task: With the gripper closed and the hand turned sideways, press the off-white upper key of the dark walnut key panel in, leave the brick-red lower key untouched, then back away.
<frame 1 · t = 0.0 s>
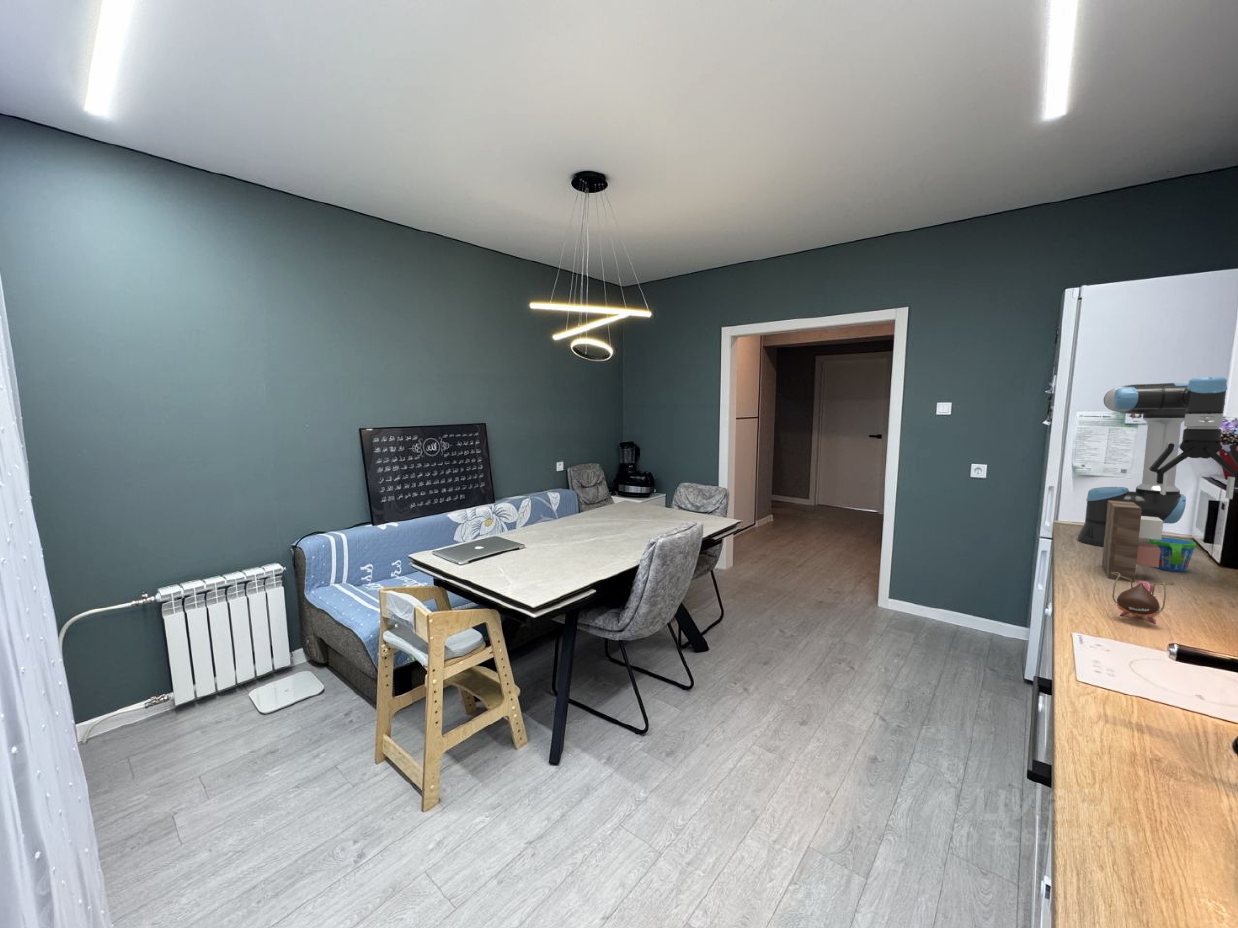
hand: (1194, 496, 151), 28 cm above the kitchen counter, tool pointing down, fingers open, 13 cm apart
key panel: (1117, 574, 163), on the kitchen counter
white key: (1148, 527, 158), point 17 cm above the kitchen counter, slide at 0.0 cm
snack cup: (1169, 569, 168), on the kitchen counter
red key: (1145, 554, 159), point 8 cm above the kitchen counter, slide at 0.0 cm
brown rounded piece: (1139, 616, 131), on the kitchen counter
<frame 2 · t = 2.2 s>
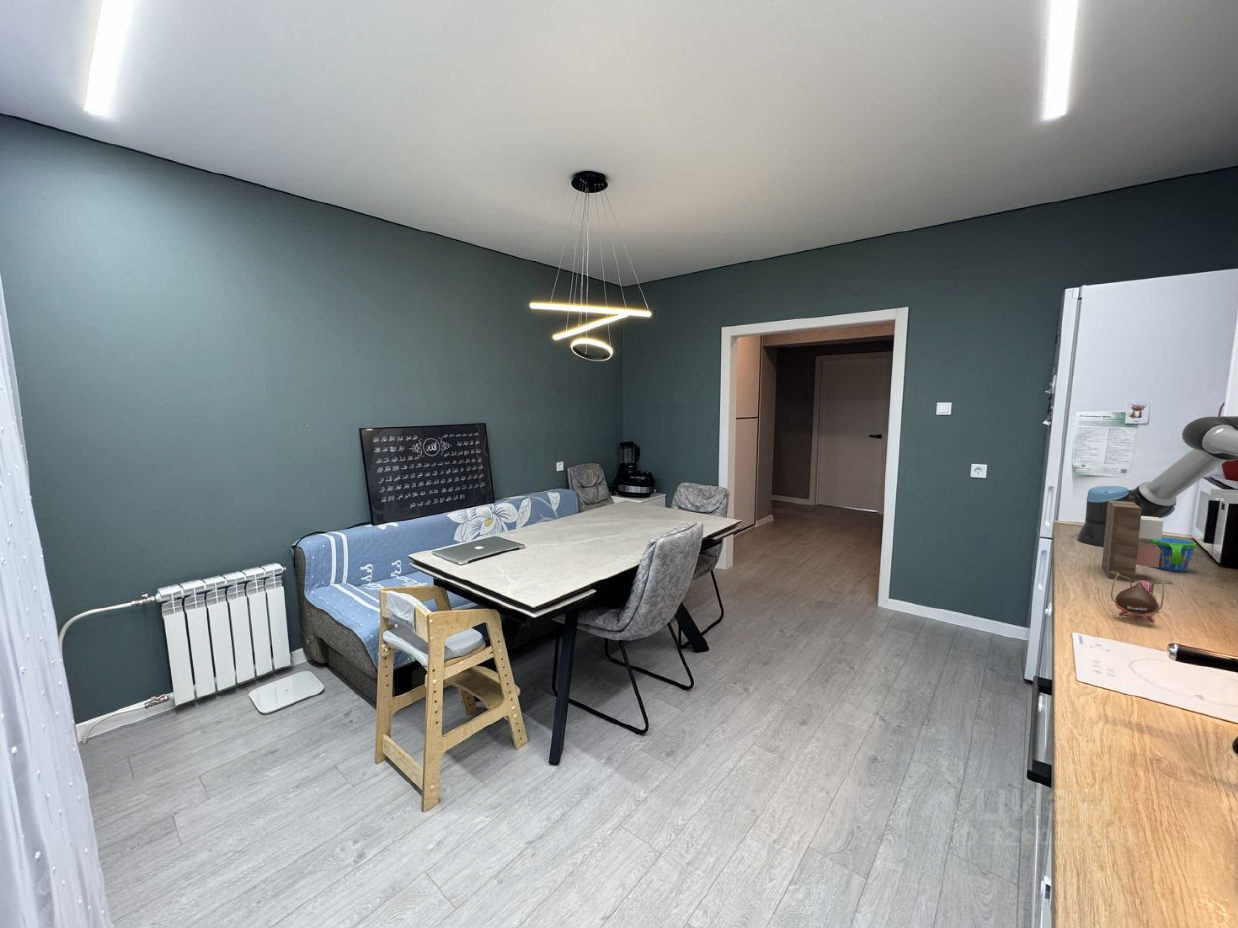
hand: (1216, 495, 148), 29 cm above the kitchen counter, tool horizontal, fingers open, 13 cm apart
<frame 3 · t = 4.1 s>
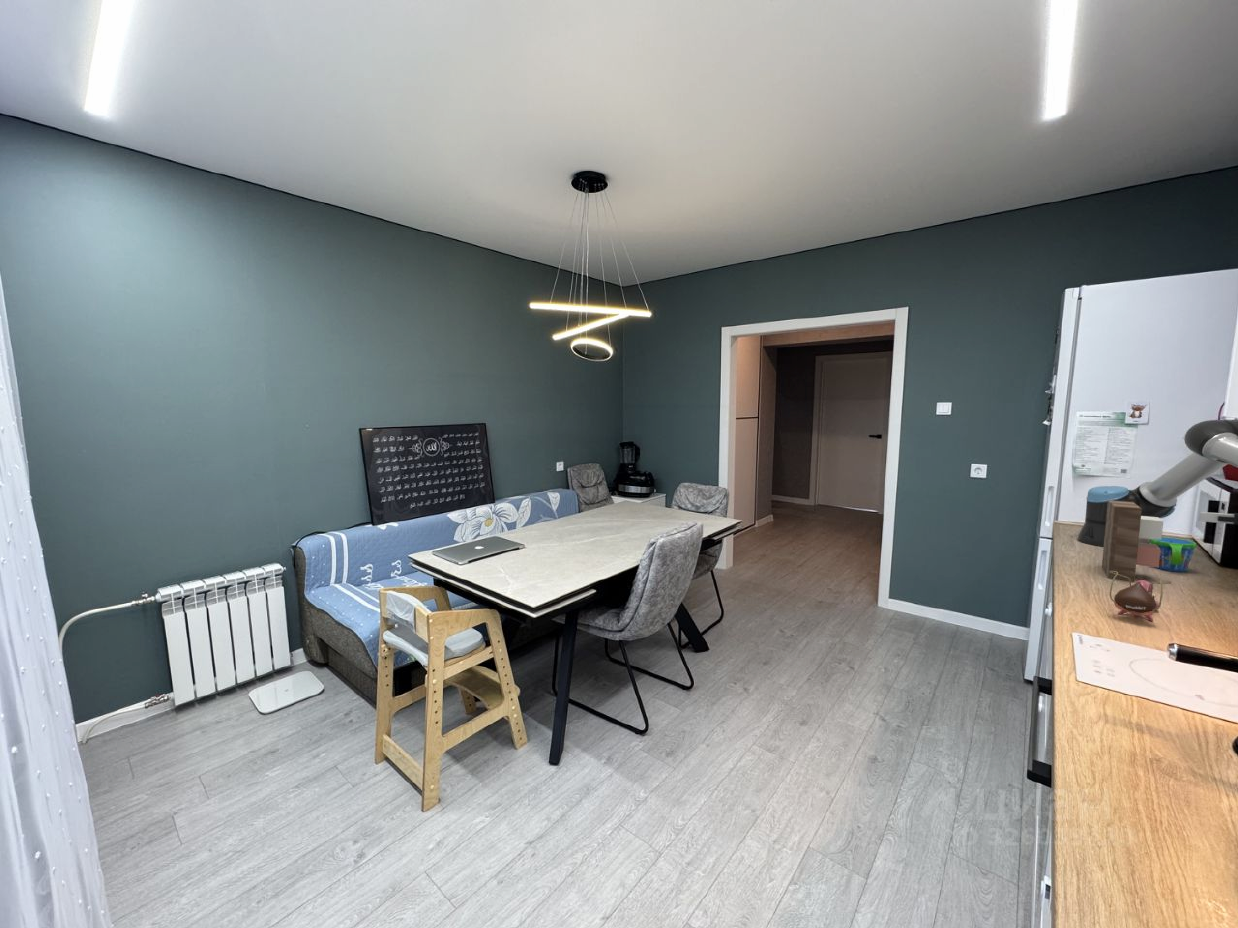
hand: (1200, 516, 150), 22 cm above the kitchen counter, tool horizontal, fingers closed
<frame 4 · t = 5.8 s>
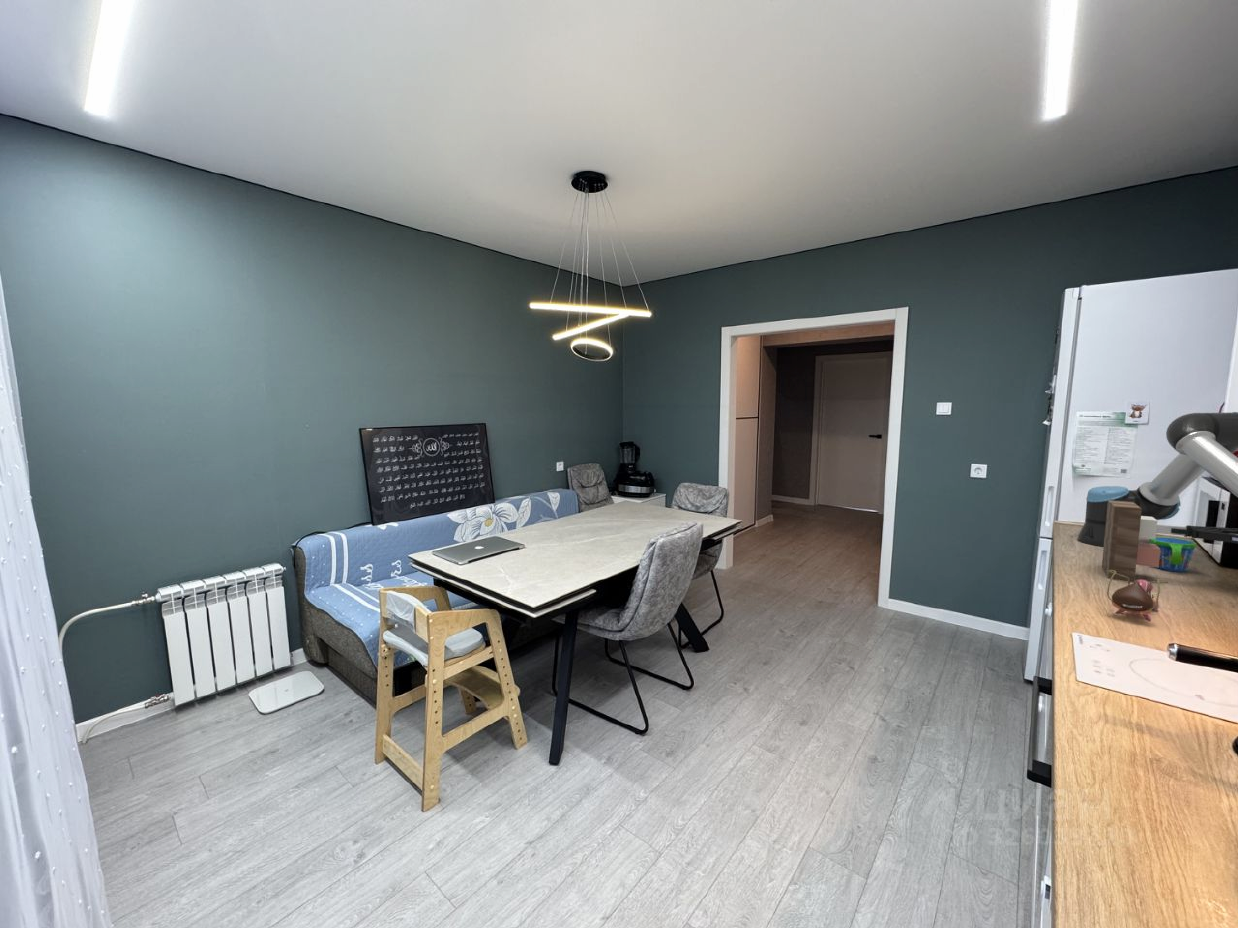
hand: (1155, 528, 157), 17 cm above the kitchen counter, tool horizontal, fingers closed
white key: (1142, 526, 159), point 17 cm above the kitchen counter, slide at 1.3 cm, touching gripper
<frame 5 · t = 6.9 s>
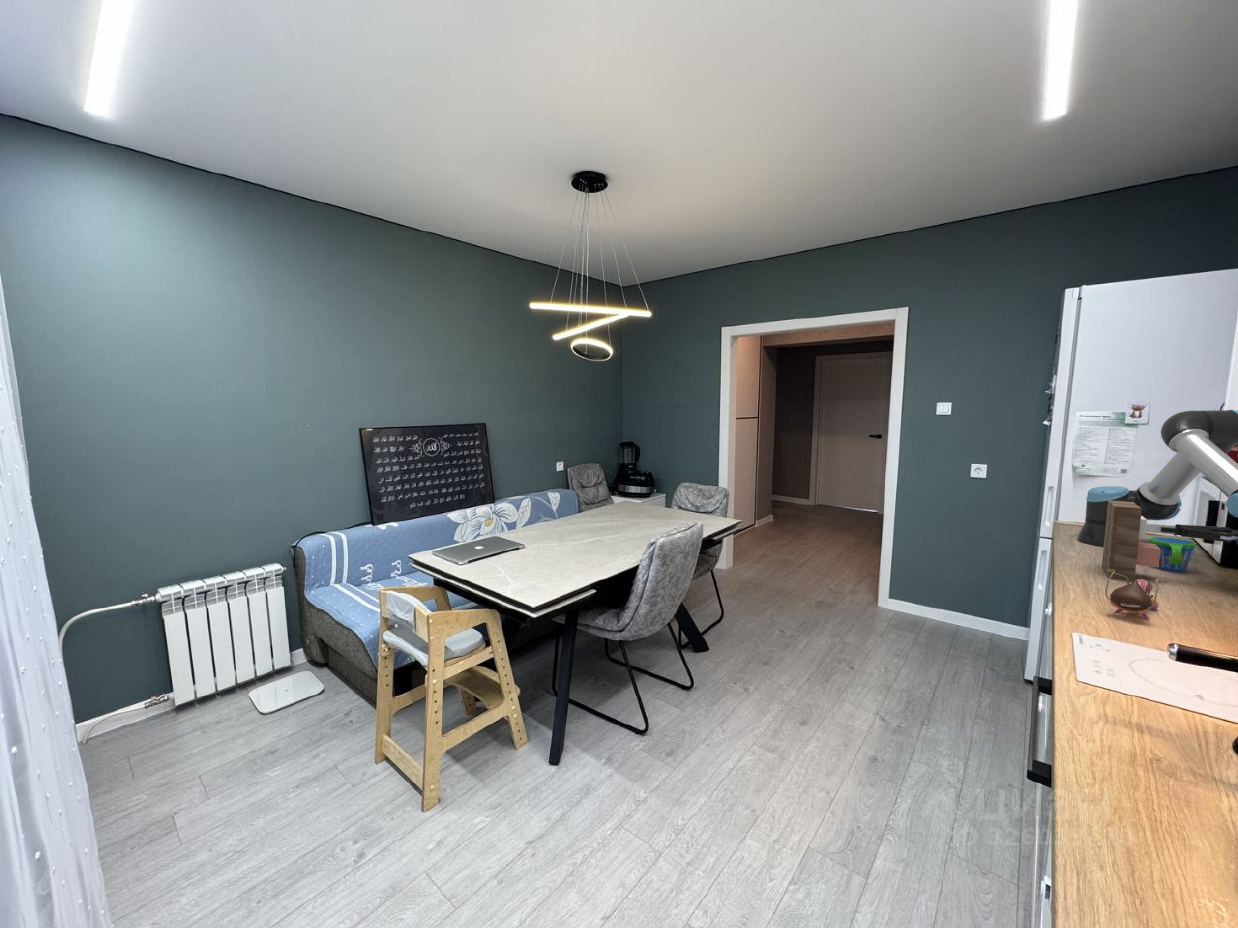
hand: (1145, 527, 158), 17 cm above the kitchen counter, tool horizontal, fingers closed
white key: (1132, 525, 160), point 17 cm above the kitchen counter, slide at 3.5 cm, touching gripper
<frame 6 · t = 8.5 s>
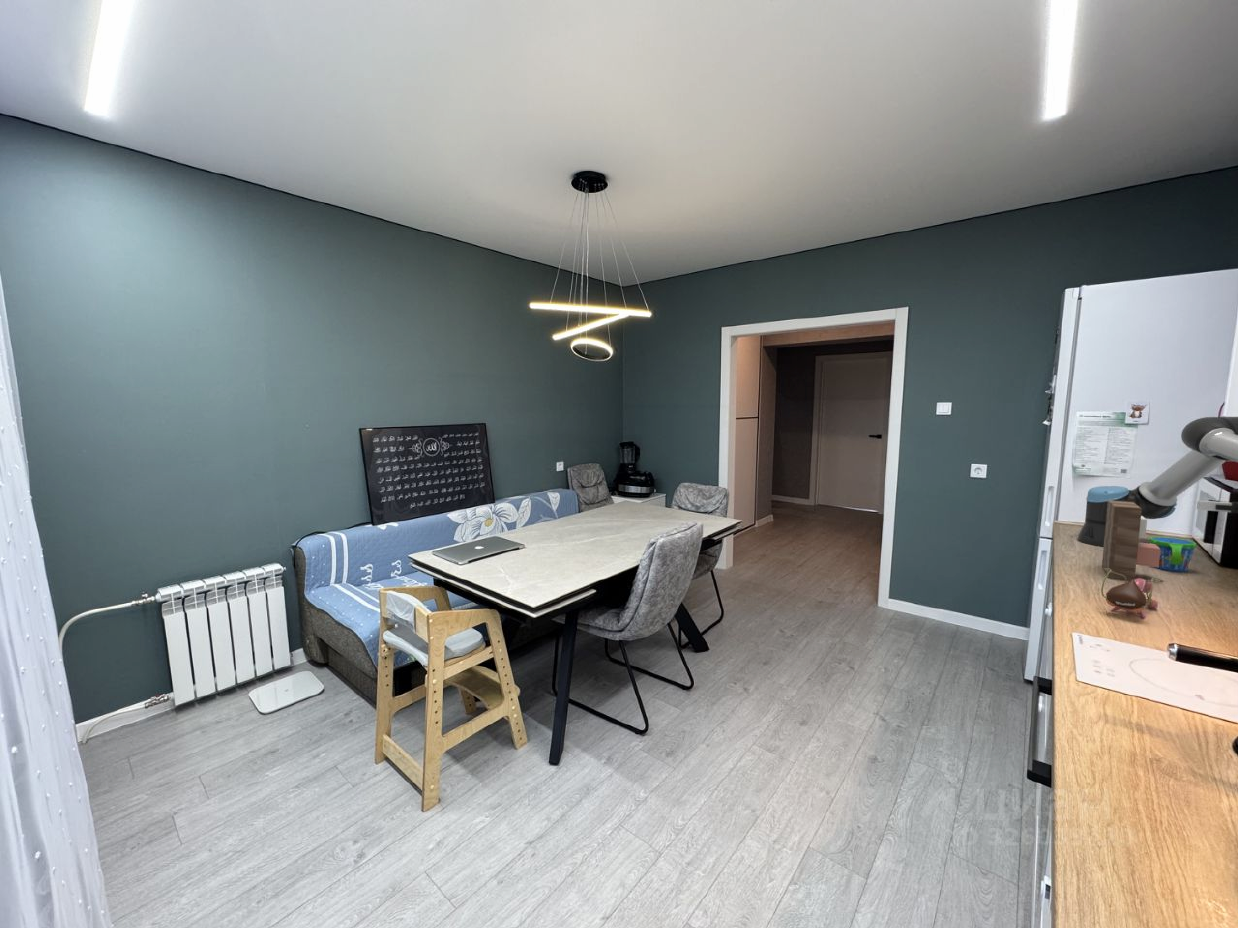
hand: (1197, 504, 151), 25 cm above the kitchen counter, tool horizontal, fingers closed
white key: (1132, 525, 160), point 17 cm above the kitchen counter, slide at 3.5 cm
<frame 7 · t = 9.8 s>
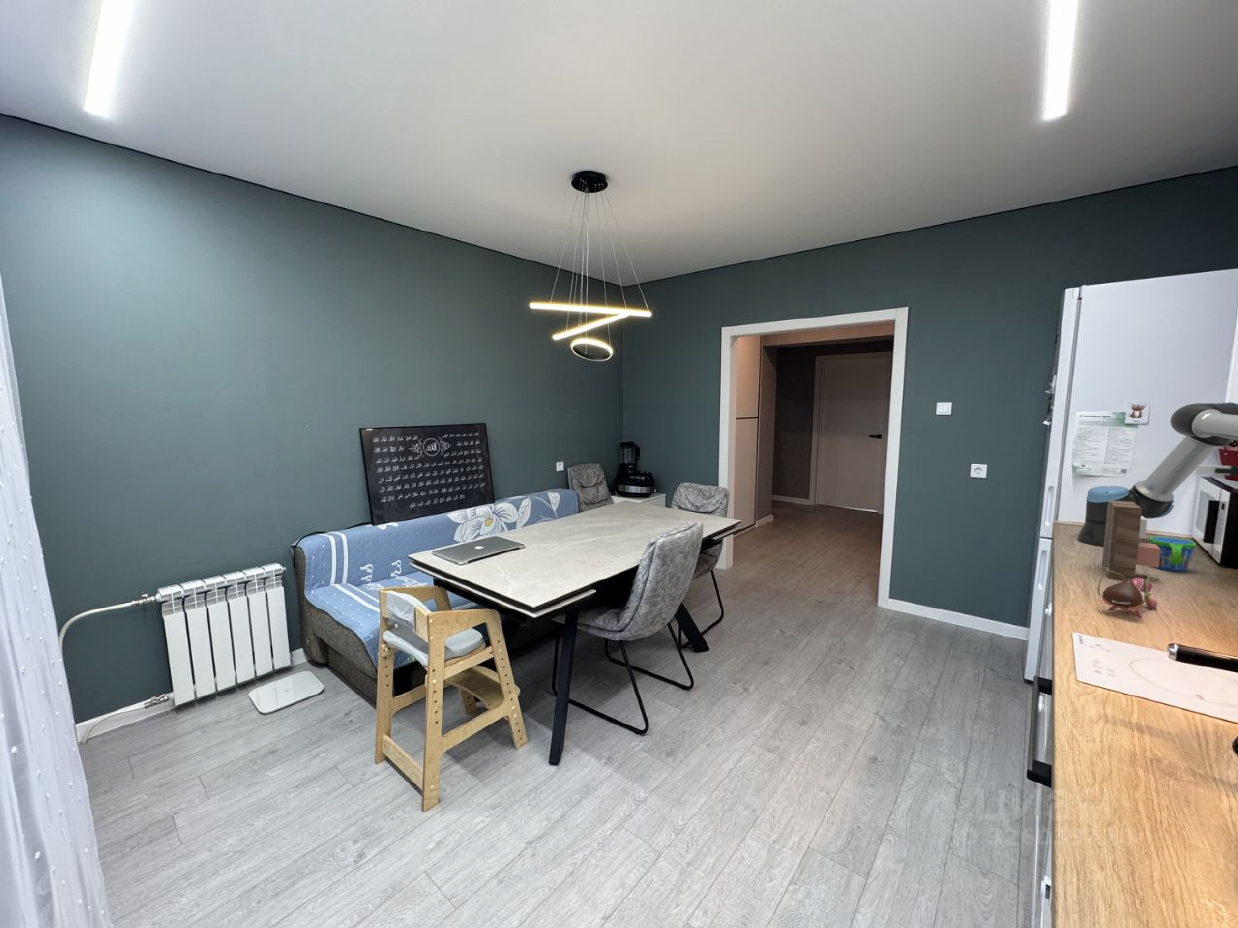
hand: (1197, 469, 154), 36 cm above the kitchen counter, tool horizontal, fingers closed
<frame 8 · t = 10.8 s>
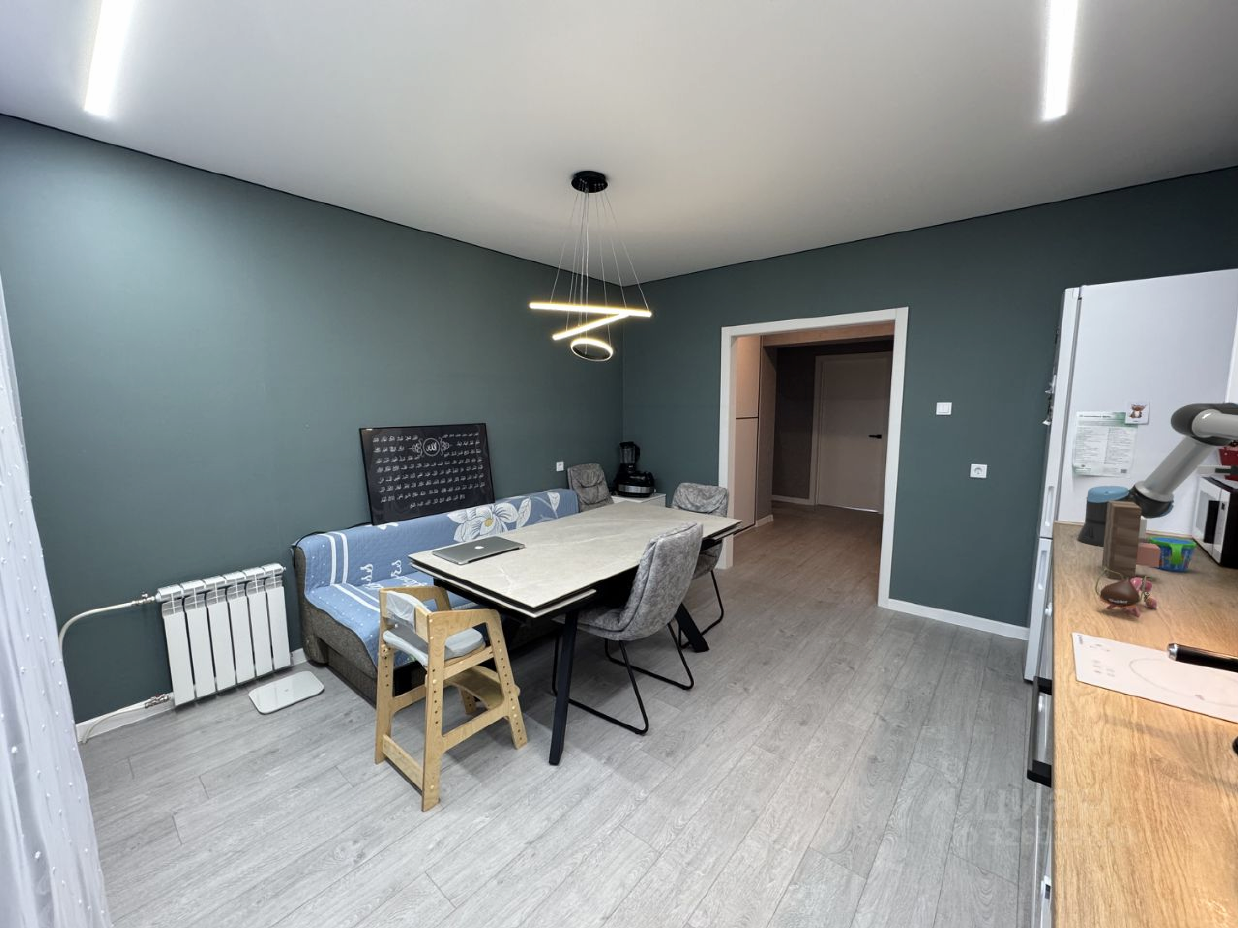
hand: (1197, 469, 154), 36 cm above the kitchen counter, tool horizontal, fingers closed
at the end: white key slide at 3.5 cm; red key slide at 0.0 cm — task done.
